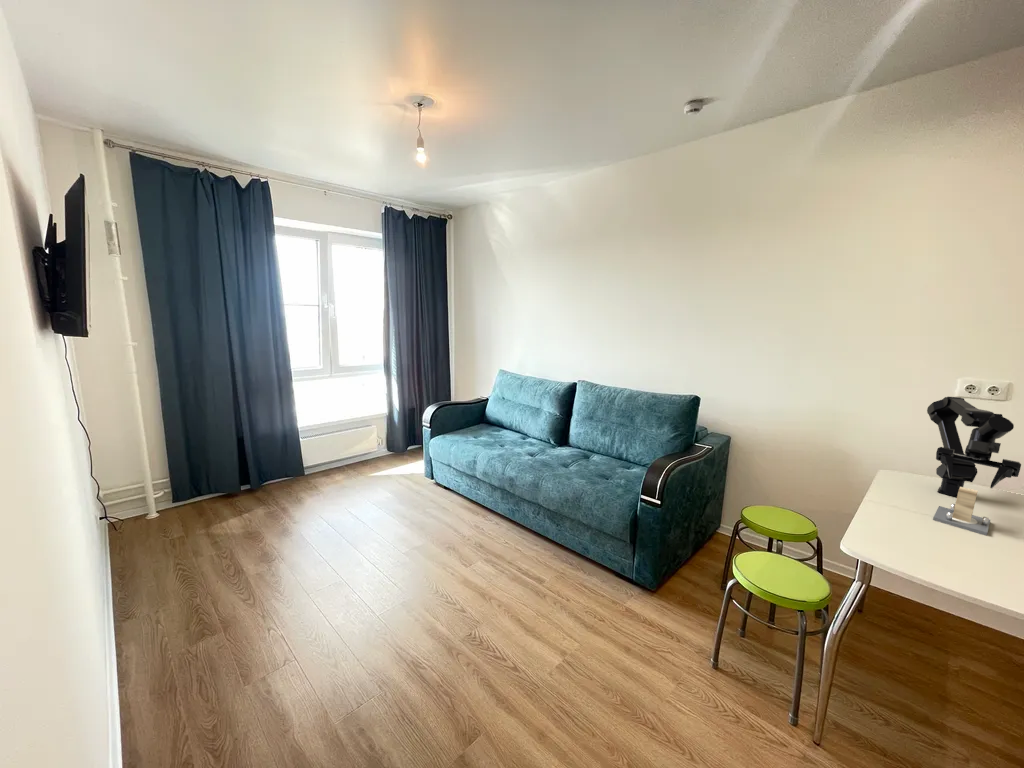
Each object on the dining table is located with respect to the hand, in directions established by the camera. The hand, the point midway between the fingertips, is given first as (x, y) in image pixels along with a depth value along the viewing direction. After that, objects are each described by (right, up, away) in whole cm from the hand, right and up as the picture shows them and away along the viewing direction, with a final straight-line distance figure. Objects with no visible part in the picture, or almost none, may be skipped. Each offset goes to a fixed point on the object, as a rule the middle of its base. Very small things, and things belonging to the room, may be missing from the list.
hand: (970, 482), depth 136 cm
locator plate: (-2, -13, +1) cm, 13 cm away
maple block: (-2, -12, +1) cm, 12 cm away
